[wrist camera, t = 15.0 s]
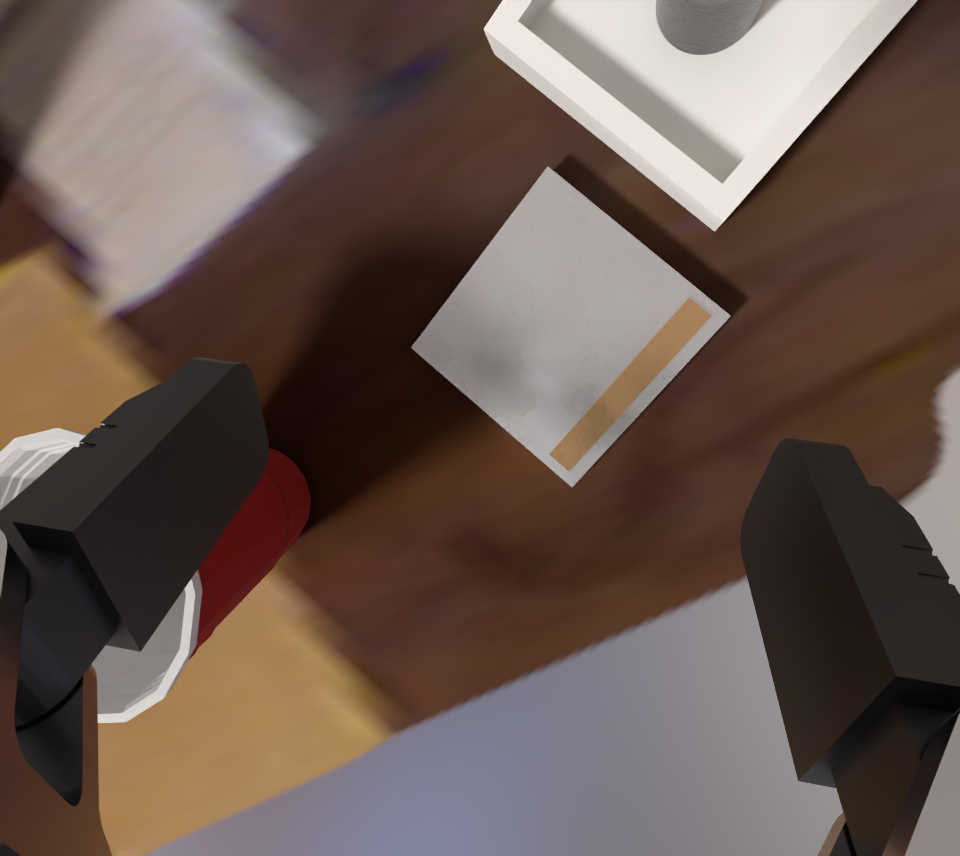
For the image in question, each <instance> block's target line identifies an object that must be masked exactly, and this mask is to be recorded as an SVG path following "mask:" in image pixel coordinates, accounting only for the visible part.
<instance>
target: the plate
mask: <svg viewBox="0 0 960 856" xmlns="http://www.w3.org/2000/svg"><path fill="white" fill-rule="evenodd" d="M730 316H731V315H729V314H728V313H727V312H726V311H724V310H723V309H722V308H721V307H719V306H718V305H717V304H716V303H715V302H713V301H712V300H711V299H710V298H708V297H707V296H706V295H705V294H704V293H702V292H701V291H700V290H699V289H697V288H696V287H695V286H694V285H693V284H691V283H690V282H689V281H688V280H686V279H685V278H684V277H683V276H682V275H680V274H679V273H678V272H677V271H675V270H674V269H673V268H672V267H671V266H669V265H668V264H667V263H666V262H664V261H663V260H662V259H661V258H659V257H658V256H657V255H656V254H655V253H653V252H652V251H651V250H650V249H648V248H647V247H646V246H645V245H644V244H642V243H641V242H640V241H639V240H637V239H636V238H635V237H634V236H633V235H631V234H630V233H629V232H628V231H626V230H625V229H624V228H623V227H622V226H620V225H619V224H618V223H617V222H615V221H614V220H613V219H612V218H611V217H609V216H608V215H607V214H606V213H604V212H603V211H602V210H601V209H600V208H598V207H597V206H596V205H595V204H593V203H592V202H591V201H590V200H588V199H587V198H586V197H585V196H584V195H582V194H581V193H580V192H579V191H577V190H576V189H575V188H574V187H573V186H571V185H570V184H569V183H568V182H566V181H565V180H564V179H563V178H562V177H560V176H559V175H558V174H557V173H555V172H554V171H553V170H552V169H551V168H549V167H547V168H546V169H545V171H544V172H543V173H542V175H541V176H540V177H539V179H538V180H537V181H536V183H535V184H534V185H533V187H532V188H531V189H530V191H529V192H528V193H527V195H526V196H525V197H524V199H523V200H522V201H521V203H520V204H519V205H518V207H517V208H516V209H515V211H514V212H513V213H512V215H511V216H510V217H509V218H508V220H507V221H506V222H505V224H504V225H503V226H502V228H501V229H500V230H499V232H498V233H497V234H496V236H495V237H494V238H493V240H492V241H491V242H490V244H489V245H488V246H487V248H486V249H485V250H484V252H483V253H482V254H481V256H480V257H479V258H478V260H477V261H476V262H475V264H474V265H473V266H472V268H471V269H470V270H469V271H468V273H467V274H466V275H465V277H464V278H463V279H462V281H461V282H460V283H459V285H458V286H457V287H456V289H455V290H454V291H453V293H452V294H451V295H450V297H449V298H448V299H447V301H446V302H445V303H444V305H443V306H442V307H441V309H440V310H439V311H438V313H437V314H436V315H435V317H434V318H433V319H432V321H431V322H430V323H429V324H428V326H427V327H426V328H425V330H424V331H423V332H422V334H421V335H420V336H419V338H418V339H417V340H416V342H415V343H414V344H413V346H412V347H411V348H412V349H413V350H414V351H415V352H416V353H418V354H419V355H420V356H421V357H422V358H423V359H425V360H426V361H427V362H428V363H429V364H430V365H431V366H433V367H434V368H435V369H436V370H437V371H438V372H440V373H441V374H442V375H443V376H444V377H445V378H446V379H448V380H449V381H450V382H451V383H452V384H453V385H455V386H456V387H457V388H458V389H459V390H460V391H461V392H463V393H464V394H465V395H466V396H467V397H468V398H470V399H471V400H472V401H473V402H474V403H475V404H476V405H478V406H479V407H480V408H481V409H482V410H483V411H485V412H486V413H487V414H488V415H489V416H490V417H491V418H493V419H494V420H495V421H496V422H497V423H498V424H500V425H501V426H502V427H503V428H504V429H505V430H506V431H508V432H509V433H510V434H511V435H512V436H513V437H515V438H516V439H517V440H518V441H519V442H520V443H521V444H523V445H524V446H525V447H526V448H527V449H528V450H530V451H531V452H532V453H533V454H534V455H535V456H536V457H538V458H539V459H540V460H541V461H542V462H543V463H545V464H546V465H547V466H548V467H549V468H550V469H551V470H553V471H554V472H555V473H556V474H557V475H558V476H560V477H561V478H562V479H563V480H564V481H565V482H566V483H568V484H569V485H570V486H571V487H573V486H574V485H575V484H576V483H577V481H578V480H579V479H580V478H581V477H582V476H583V475H584V474H585V473H586V472H587V471H588V470H589V469H590V467H591V466H592V465H593V464H594V463H595V462H596V461H597V460H598V459H599V458H600V457H601V456H602V454H603V453H604V452H605V451H606V450H607V449H608V448H609V447H610V446H611V445H612V444H613V443H614V442H615V440H616V439H617V438H618V437H619V436H620V435H621V434H622V433H623V432H624V431H625V430H626V429H627V428H628V426H629V425H630V424H631V423H632V422H633V421H634V420H635V419H636V418H637V417H638V416H639V415H640V413H641V412H642V411H643V410H644V409H645V408H646V407H647V406H648V405H649V404H650V403H651V402H652V401H653V399H654V398H655V397H656V396H657V395H658V394H659V393H660V392H661V391H662V390H663V389H664V388H665V387H666V385H667V384H668V383H669V382H670V381H671V380H672V379H673V378H674V377H675V376H676V375H677V374H678V372H679V371H680V370H681V369H682V368H683V367H684V366H685V365H686V364H687V363H688V362H689V361H690V360H691V358H692V357H693V356H694V355H695V354H696V353H697V352H698V351H699V350H700V349H701V348H702V347H703V345H704V344H705V343H706V342H707V341H708V340H709V339H710V338H711V337H712V336H713V335H714V334H715V333H716V331H717V330H718V329H719V328H720V327H721V326H722V325H723V324H724V323H725V322H726V321H727V320H728V319H729V317H730Z"/></svg>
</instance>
